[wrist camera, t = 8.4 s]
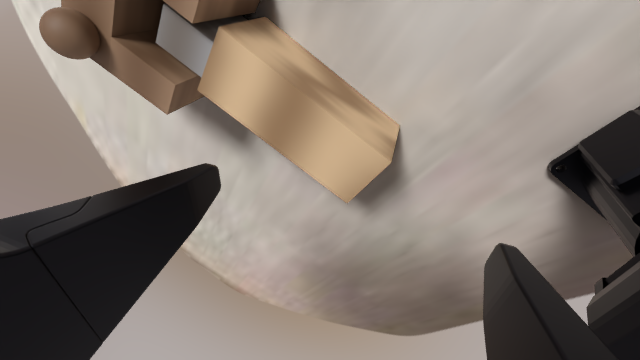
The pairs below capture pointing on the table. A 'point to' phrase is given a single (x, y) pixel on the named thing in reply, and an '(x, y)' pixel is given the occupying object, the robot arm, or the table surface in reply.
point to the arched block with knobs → (134, 42)
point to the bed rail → (285, 97)
